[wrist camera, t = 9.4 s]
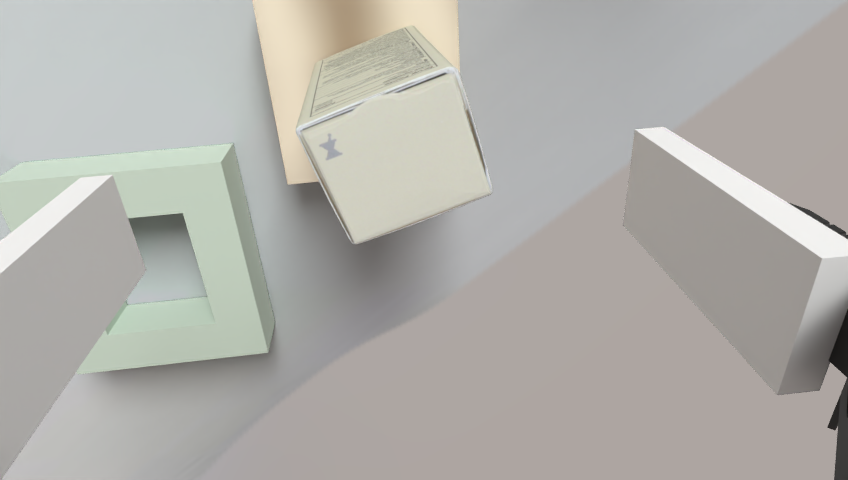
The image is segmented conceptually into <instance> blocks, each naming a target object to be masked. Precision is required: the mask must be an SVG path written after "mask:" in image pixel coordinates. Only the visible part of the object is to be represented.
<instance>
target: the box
mask: <svg viewBox="0 0 848 480" xmlns="http://www.w3.org/2000/svg"><path fill="white" fill-rule="evenodd" d="M296 134H297V136H298V138H299V140H300V142H301V144H302V147H303V149H304V151H305V153H306V155H307V157H308V159H309V162H310V164H311V166H312V168H313V170H314V172H315V174H316V176H317V178H318V180H319V182H320V184H321V186H322V188H323V190H324V192H325V194H326V196H327V199H328V201H329V202H330V204H331V206H332V208H333V210H334V212H335V214H336V216H337V218H338V220H339V222H340V224H341V225H342V227H343V229H344V230H345V232H346V234H347V236H348V238H349V240H350V242H351V243H352V244H360V243H363V242H366V241H369V240H372V239H375V238H378V237H380V236H383V235H386V234H389V233H392V232H394V231H397V230H400V229H403V228H406V227H409V226H411V225H414V224H417V223H420V222H422V221H425V220H427V219H430V218H432V217H435V216H438V215H440V214H443V213H445V212H448V211H450V210H453V209H456V208H458V207H461V206H463V205H466V204H468V203H471V202H473V201H476V200H478V199H481V198H483V197H486V196H489V195H491V194H492V192H493V187H492V183H491V179H490V175H489V172H488V168H487V164H486V161H485V157H484V153H483V149H482V146H481V142H480V139H479V135H478V131H477V128H476V124H475V121H474V118H473V114H472V111H471V107H470V104H469V101H468V98H467V95H466V91H465V88H464V85H463V82H462V78H461V75H460V72H459V70H458V69H457V68H456V67H455V66H453V65H452V64H451V63H450V62H449V61H448V60H447V59H446V58H445V57H444V56H443V55H442V54H441V53H440V52H439V51H438V50H437V49H436V48H435V47H434V46H433V45H432V44H431V43H430V42H429V41H428V40H427V39H426V38H425V37H424V36H423V35H422V33H421V32H420V31H419V30H418V29H417V28H416V27H415V26H413V25H410V26H406V27H403V28H400V29H397V30H395V31H392V32H389V33H386V34H384V35H381V36H378V37H376V38H373V39H371V40H368V41H366V42H363V43H361V44H359V45H356V46H354V47H351V48H349V49H346V50H344V51H341V52H339V53H337V54H334V55H332V56H330V57H328V58H325V59H323V60H321V61H318V62H316V63H315V66H314V69H313V72H312V76H311V79H310V83H309V86H308V89H307V93H306V96H305V99H304V103H303V106H302V109H301V113H300V116H299V119H298V122H297V126H296Z"/></svg>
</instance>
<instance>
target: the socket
mask: <svg viewBox="0 0 848 480" xmlns="http://www.w3.org/2000/svg"><path fill="white" fill-rule="evenodd" d="M104 175H113V177H114V180H115V183H116V186H117V189H118V191H119V194H120V197H121V200H122V203H123V206H124V208H125V211H126V214H127V217H128V218H137V217H147V216H157V215H168V214H178V213H183V216H184V219H185V222H186V226H187V229H188V232H189V236H190V239H191V243H192V246H193V249H194V253H195V256H196V259H197V263H198V266H199V269H200V273H201V276H202V279H203V283H204V286H205V290H206V293H207V296H208V297H199V298H190V299H180V300H171V301H162V302H152V303H143V304H134V305H127V303H126V301H125V302H124V303H123V305H122V306H121V308H120V309H119V311H118V312H117V314H116V315H115V316H114V318H113V319H112V321H111V322H110V324H109V325H108V327H107V328H106V329H105V331H104V332H103V334H102V335H101V337H100V338H99V340H98V341H97V342H96V344H95V345H94V347H93V348H92V350H91V351H90V352H89V354H88V355H87V357H86V358H85V360H84V361H83V363H82V364H81V365H80V367H79V368H78V370H77V371H76V372H77V374H86V373H95V372H104V371H112V370H121V369H130V368H139V367H147V366H156V365H165V364H174V363H182V362H191V361H200V360H209V359H218V358H226V357H235V356H244V355H253V354H261V353H268V352H269V348H270V343H271V339H272V334H273V330H274V326H275V320H274V315H273V311H272V307H271V303H270V298H269V294H268V290H267V286H266V281H265V277H264V273H263V268H262V264H261V260H260V256H259V251H258V247H257V243H256V239H255V234H254V230H253V226H252V221H251V217H250V213H249V209H248V204H247V200H246V196H245V192H244V187H243V183H242V179H241V174H240V170H239V166H238V162H237V157H236V153H235V149H234V145H233V143H231V144H220V145H209V146H197V147H186V148H175V149H164V150H153V151H142V152H131V153H120V154H109V155H97V156H86V157H75V158H64V159H53V160H42V161H31V162H22V163H20V164H18V165H17V166H15V167H14V168H12V169H10V170H9V171H7V172H6V173H4V174H2V175H1V176H0V210H1V212H2V214H3V216H4V219H5V221H6V223H7V225H8V227H9V229H10V231H11V232H13V231H14V230H15V229H16V228H18V227H19V226H20V225H21V224H23V223H24V222H25V221H27V220H28V219H29V218H30V217H32V216H33V215H34V214H35V213H37V212H38V211H39V210H40V209H42V208H43V207H44V206H45V205H47V204H48V203H49V202H50V201H52V200H53V199H54V198H55V197H57V196H58V195H59V194H61V193H62V192H63V191H64V190H66V189H67V188H68V187H69V186H71V185H72V184H73V183H74V182H76V181H77V180H78V179H79V178H81V177H93V176H104Z"/></svg>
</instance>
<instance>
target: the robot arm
mask: <svg viewBox="0 0 848 480" xmlns="http://www.w3.org/2000/svg"><path fill="white" fill-rule="evenodd" d="M623 226H624V227H625V228H626V229H627V230H628V231H629V233H630V234H631V235H632V236H633V237H634V238H635V239H636V240H637V241H638V242H639V244H640V245H641V246H642V247H643V248H644V249H645V250H646V251H647V252H648V253H649V255H650V256H651V257H652V258H653V259H654V260H655V261H656V262H657V263H658V264H659V266H660V267H661V268H662V269H663V270H664V271H665V272H666V273H667V274H668V275H669V277H670V278H671V279H672V280H673V281H674V282H675V283H676V284H677V285H678V286H679V288H680V289H681V290H682V291H683V292H684V293H685V294H686V295H687V296H688V297H689V299H690V300H691V301H692V302H693V303H694V304H695V305H696V306H697V307H698V308H699V310H700V311H701V312H702V313H703V314H704V315H705V316H706V317H707V318H708V319H709V321H710V322H711V323H712V324H713V325H714V326H715V327H716V328H717V329H718V330H719V331H720V333H721V334H722V335H723V336H724V337H725V338H726V339H727V340H728V341H729V343H730V344H731V345H732V346H733V347H734V348H735V349H736V350H737V351H738V352H739V353H740V355H741V356H742V357H743V358H744V359H745V360H746V361H747V362H748V363H749V364H750V366H751V367H752V368H753V369H754V370H755V371H756V372H757V373H758V374H759V375H760V377H761V378H762V379H763V380H764V381H765V382H766V383H767V384H768V385H769V387H770V388H771V389H772V390H773V391H774V392H775V393H776V394H777V395H783V394H792V393H801V392H810V391H819V390H820V388H821V385H822V383H823V380H824V377H825V374H826V372H827V369H828V367H829V364H830V362H831V363H832V364H833V365H834V366H835V367H836V368H838V369H839V370H840V371H841V372H842V373H843V374H844V375H845V376H846V377H847V380H846V383H845V385H844V388H843V390H842V393H841V395H840V397H839V400H838V402H837V405H836V407H835V410H834V412H833V415H832V417H831V420H830V423H829V425H828V428H830V429H833V430H836V428H837V426H838V435H837V450H836V464H835V477H834V480H848V235H846V232H845V231H843V230H842V229H840V228H838V227H837V226H835V225H830V224H829V222H828V221H827V220H825V219H823V218H822V217H820V216H818V215H817V214H815V213H813V212H812V211H810V210H808V209H805V208H801V207H799V206H796V205H793V204H791V203H788V202H786V201H784V200H782V199H781V198H779V197H778V196H776V195H774V194H773V193H771V192H769V191H768V190H766V189H764V188H763V187H761V186H759V185H758V184H756V183H755V182H753V181H751V180H750V179H748V178H746V177H745V176H743V175H741V174H739V173H738V172H737V171H735V170H733V169H732V168H730V167H728V166H727V165H725V164H724V163H722V162H720V161H719V160H717V159H715V158H713V157H712V156H710V155H709V154H707V153H706V152H704V151H702V150H701V149H699V148H697V147H696V146H694V145H692V144H691V143H689V142H687V141H686V140H684V139H683V138H681V137H679V136H677V135H676V134H675V133H673V132H671V131H670V130H668V129H666V128H665V127H659V128H647V129H636V130H635V133H634V141H633V149H632V157H631V165H630V173H629V181H628V189H627V197H626V205H625V213H624V221H623ZM145 272H146V268H145V265H144V262H143V259H142V257H141V254H140V251H139V248H138V245H137V242H136V240H135V237H134V234H133V231H132V228H131V225H130V223H129V220H128V217H127V214H126V211H125V208H124V206H123V203H122V200H121V197H120V194H119V191H118V189H117V186H116V183H115V180H114V177H113V175H104V176H93V177H81V178H79V179H78V180H77V181H76V182H74V183H73V184H72V185H71V186H69V187H68V188H67V189H66V190H64V191H63V192H62V193H61V194H59V195H58V196H57V197H55V198H54V199H53V200H52V201H50V202H49V203H48V204H47V205H45V206H44V207H43V208H42V209H40V210H39V211H38V212H37V213H35V214H34V215H33V216H32V217H30V218H29V219H28V220H27V221H25V222H24V223H23V224H21V225H20V226H19V227H18V228H16V229H15V230H14V231H13V232H11V233H10V234H9V235H8V236H6V237H5V238H4V239H3V240H1V241H0V480H1V479H2V478H3V476H4V475H5V474H6V472H7V471H8V469H9V468H10V466H11V465H12V463H13V462H14V461H15V459H16V458H17V456H18V455H19V453H20V452H21V450H22V449H23V448H24V446H25V445H26V443H27V442H28V440H29V439H30V438H31V436H32V435H33V433H34V432H35V430H36V429H37V427H38V426H39V425H40V423H41V422H42V420H43V419H44V417H45V416H46V414H47V413H48V412H49V410H50V409H51V407H52V406H53V404H54V403H55V401H56V400H57V399H58V397H59V396H60V394H61V393H62V391H63V390H64V389H65V387H66V386H67V384H68V383H69V381H70V380H71V378H72V377H73V376H74V374H75V373H76V371H77V370H78V368H79V367H80V365H81V364H82V363H83V361H84V360H85V358H86V357H87V355H88V354H89V352H90V351H91V350H92V348H93V347H94V345H95V344H96V342H97V341H98V340H99V338H100V337H101V335H102V334H103V332H104V331H105V329H106V328H107V327H108V325H109V324H110V322H111V321H112V319H113V318H114V316H115V315H116V314H117V312H118V311H119V309H120V308H121V306H122V305H123V303H124V302H125V301H126V299H127V298H128V296H129V295H130V293H131V292H132V291H133V289H134V288H135V286H136V285H137V283H138V282H139V280H140V279H141V278H142V276H143V275H144V273H145Z"/></svg>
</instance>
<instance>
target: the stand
mask: <svg viewBox="0 0 848 480" xmlns="http://www.w3.org/2000/svg"><path fill="white" fill-rule="evenodd" d="M252 2H253V7H254V12H255V17H256V22H257V28H258V33H259V38H260V43H261V48H262V54H263V59H264V64H265V69H266V74H267V80H268V85H269V90H270V95H271V100H272V106H273V111H274V116H275V121H276V126H277V132H278V137H279V142H280V147H281V152H282V158H283V163H284V168H285V173H286V178H287V184H299V183H309V182H319V180H318V178H317V176H316V174H315V172H314V170H313V168H312V166H311V164H310V162H309V159H308V157H307V155H306V153H305V151H304V149H303V147H302V144H301V142H300V140H299V138H298V136H297V134H296V126H297V122H298V119H299V116H300V113H301V109H302V106H303V103H304V99H305V96H306V93H307V89H308V86H309V83H310V79H311V76H312V72H313V69H314V66H315V63H316V62H318V61H321V60H323V59H325V58H328V57H330V56H332V55H334V54H337V53H339V52H341V51H344V50H346V49H349V48H351V47H354V46H356V45H359V44H361V43H363V42H366V41H368V40H371V39H373V38H376V37H378V36H381V35H384V34H386V33H389V32H392V31H395V30H397V29H400V28H403V27H406V26H410V25H413V26H415V27H416V28H417V29H418V30H419V31H420V32H421V33H422V35H423V36H424V37H425V38H426V39H427V40H428V41H429V42H430V43H431V44H432V45H433V46H434V47H435V48H436V49H437V50H438V51H439V52H440V53H441V54H442V55H443V56H444V57H445V58H446V59H447V60H448V61H449V62H450V63H451V64H452V65H453V66H455V67H456V68H457V69H458V70H459V72H460V65H459V31H458V0H252Z"/></svg>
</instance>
